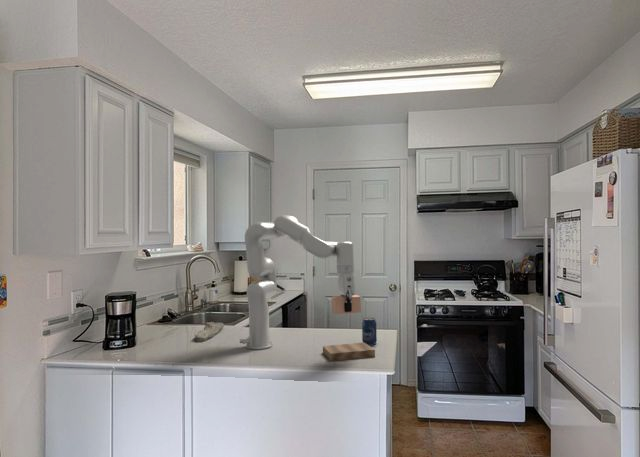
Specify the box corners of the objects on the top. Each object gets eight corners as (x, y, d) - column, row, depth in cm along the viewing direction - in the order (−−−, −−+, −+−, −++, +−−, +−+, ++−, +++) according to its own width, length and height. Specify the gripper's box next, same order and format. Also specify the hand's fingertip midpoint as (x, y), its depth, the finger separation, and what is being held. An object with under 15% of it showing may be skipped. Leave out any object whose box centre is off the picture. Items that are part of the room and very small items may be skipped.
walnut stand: (331, 360, 184) (330, 353, 184) (322, 352, 196) (322, 346, 196) (375, 356, 189) (374, 349, 189) (364, 348, 202) (364, 342, 202)
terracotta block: (360, 312, 192) (360, 296, 192) (334, 314, 189) (334, 298, 189) (357, 310, 196) (357, 295, 196) (331, 312, 193) (331, 296, 193)
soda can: (362, 345, 208) (361, 320, 209) (362, 341, 215) (362, 317, 215) (376, 345, 207) (376, 320, 207) (376, 341, 214) (376, 317, 214)
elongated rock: (189, 345, 220) (208, 346, 220) (189, 335, 220) (208, 336, 219) (210, 326, 255) (227, 327, 254) (210, 317, 255) (227, 318, 254)
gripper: (359, 270, 186) (360, 313, 185) (347, 267, 202) (348, 307, 202) (342, 271, 184) (344, 314, 183) (331, 268, 200) (332, 308, 200)
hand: (346, 310), depth 193 cm, fingers closed on terracotta block, 4 cm apart
